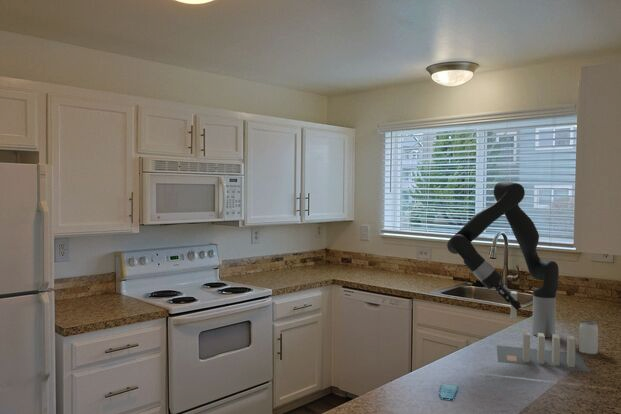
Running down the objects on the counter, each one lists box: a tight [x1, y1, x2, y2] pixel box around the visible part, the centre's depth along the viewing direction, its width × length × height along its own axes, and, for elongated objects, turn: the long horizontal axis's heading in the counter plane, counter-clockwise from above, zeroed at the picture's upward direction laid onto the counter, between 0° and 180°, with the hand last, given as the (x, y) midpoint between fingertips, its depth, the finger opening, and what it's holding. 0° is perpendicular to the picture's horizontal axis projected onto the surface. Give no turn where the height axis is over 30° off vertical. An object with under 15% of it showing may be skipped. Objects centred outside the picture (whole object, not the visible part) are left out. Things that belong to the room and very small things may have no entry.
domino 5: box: [566, 334, 576, 367], centre depth 188 cm, size 5×2×10 cm, turn 161°
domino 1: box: [510, 290, 518, 320], centre depth 204 cm, size 5×2×10 cm, turn 161°
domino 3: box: [536, 333, 546, 364], centre depth 191 cm, size 5×2×10 cm, turn 161°
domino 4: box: [551, 333, 561, 365], centre depth 189 cm, size 5×2×10 cm, turn 161°
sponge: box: [438, 383, 459, 401], centre depth 162 cm, size 2×12×6 cm
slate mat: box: [496, 344, 590, 373], centre depth 196 cm, size 22×30×1 cm
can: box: [578, 320, 599, 355], centre depth 204 cm, size 6×6×12 cm
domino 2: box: [522, 331, 531, 362], centre depth 193 cm, size 5×2×10 cm, turn 161°
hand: (518, 306), depth 203 cm, fingers closed on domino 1, 5 cm apart
